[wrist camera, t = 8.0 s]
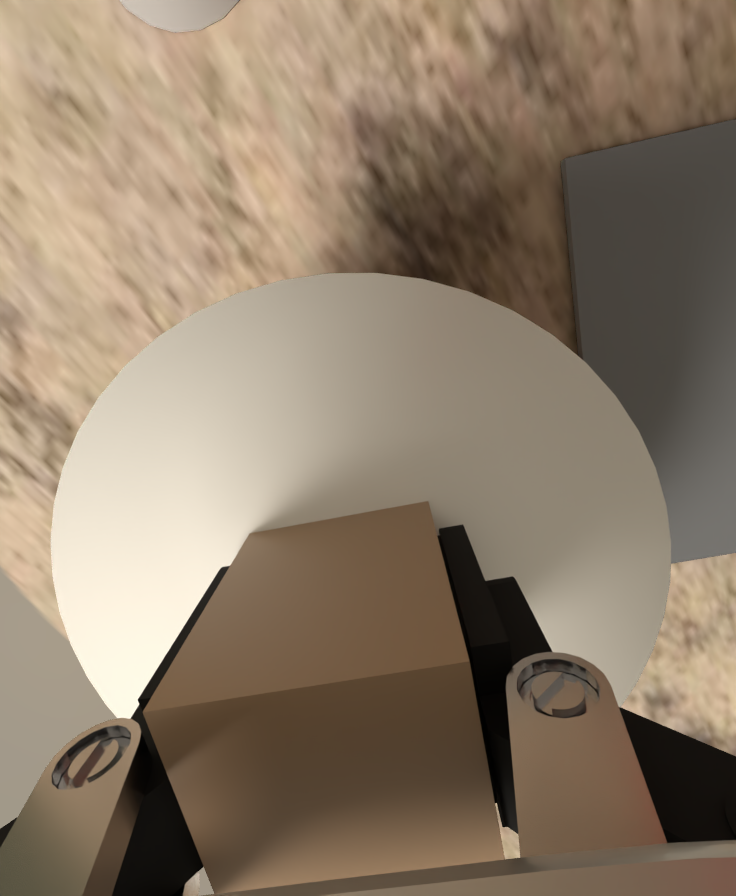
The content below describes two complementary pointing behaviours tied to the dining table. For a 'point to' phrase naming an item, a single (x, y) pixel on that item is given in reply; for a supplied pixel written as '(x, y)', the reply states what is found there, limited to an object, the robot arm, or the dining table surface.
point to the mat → (665, 312)
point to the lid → (346, 560)
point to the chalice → (179, 13)
